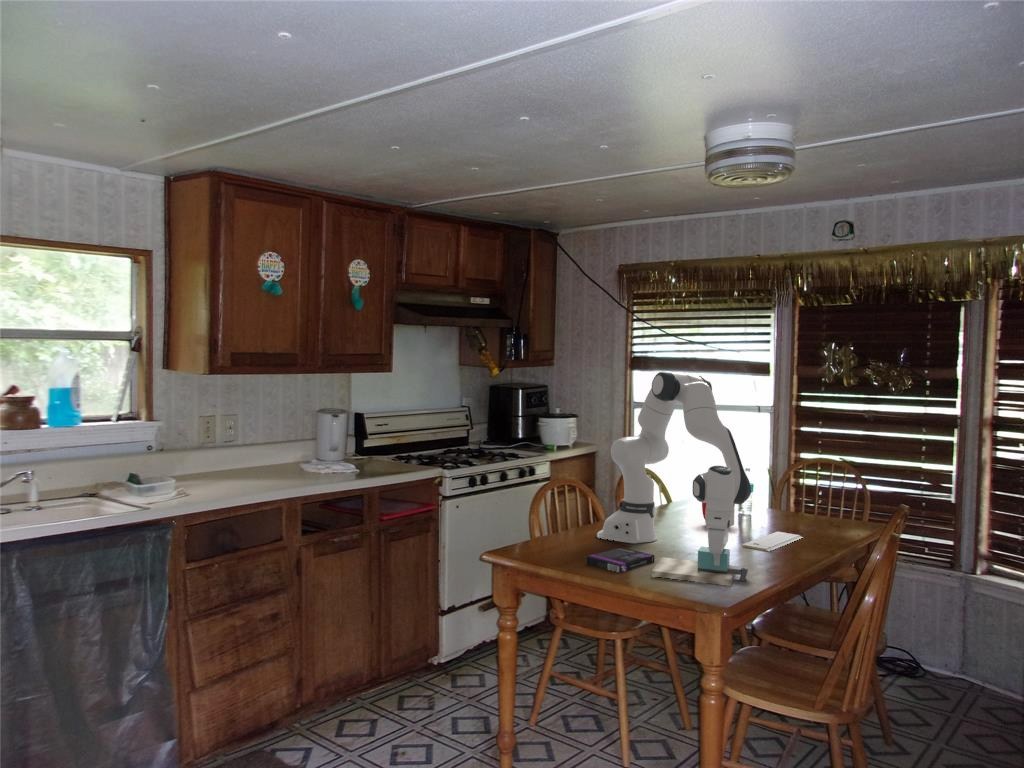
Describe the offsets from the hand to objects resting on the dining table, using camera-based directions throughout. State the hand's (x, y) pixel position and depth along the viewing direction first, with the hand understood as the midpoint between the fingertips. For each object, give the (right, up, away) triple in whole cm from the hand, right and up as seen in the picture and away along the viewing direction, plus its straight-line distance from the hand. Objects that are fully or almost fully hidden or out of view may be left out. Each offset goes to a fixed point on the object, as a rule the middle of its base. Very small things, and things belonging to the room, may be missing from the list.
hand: (718, 561), depth 250 cm
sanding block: (-1, -2, +1) cm, 3 cm away
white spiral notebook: (+34, -4, +48) cm, 59 cm away
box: (-29, -5, +15) cm, 33 cm away
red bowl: (+19, -2, +76) cm, 79 cm away
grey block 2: (+7, -3, -2) cm, 8 cm away
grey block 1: (+5, -3, -2) cm, 6 cm away
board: (-7, -5, +3) cm, 9 cm away
